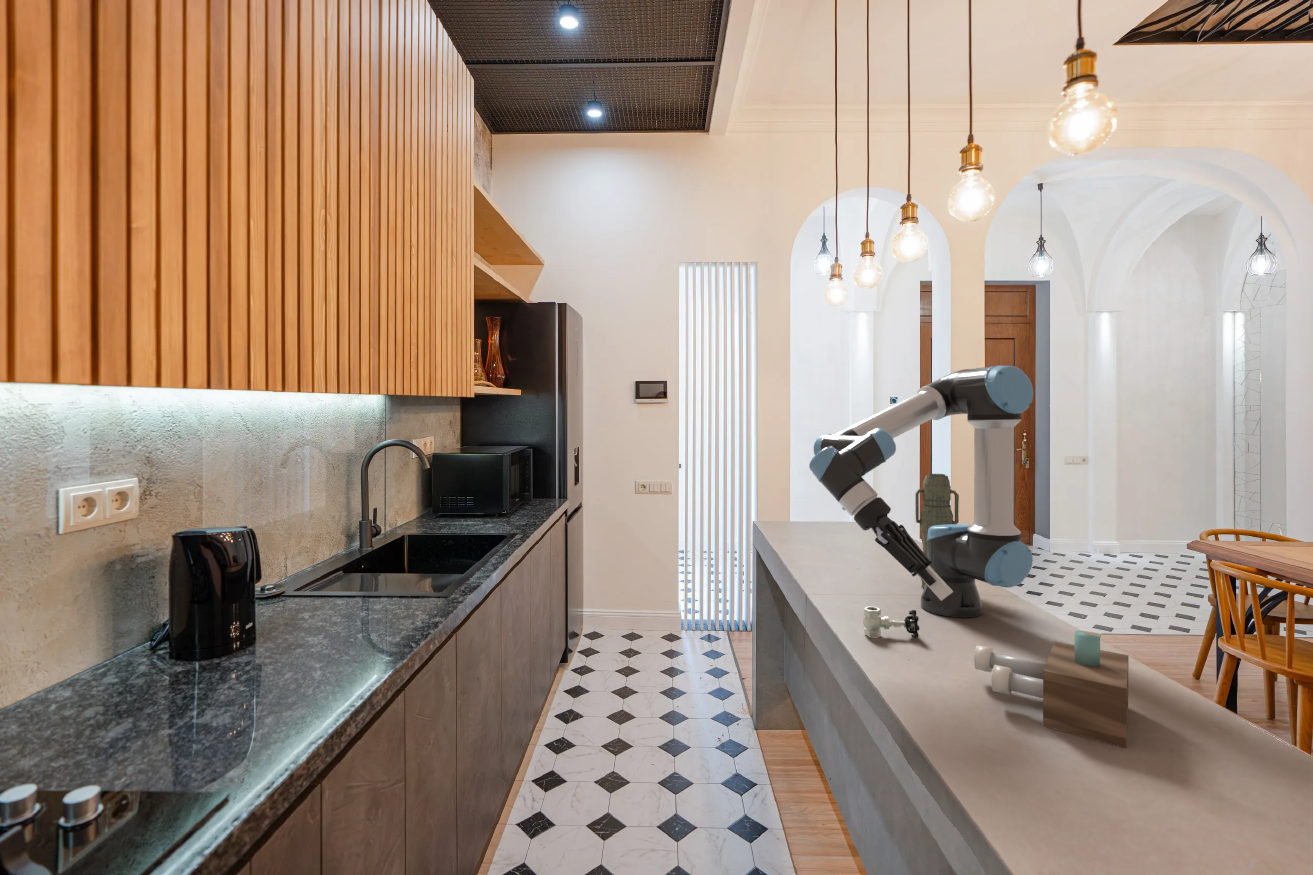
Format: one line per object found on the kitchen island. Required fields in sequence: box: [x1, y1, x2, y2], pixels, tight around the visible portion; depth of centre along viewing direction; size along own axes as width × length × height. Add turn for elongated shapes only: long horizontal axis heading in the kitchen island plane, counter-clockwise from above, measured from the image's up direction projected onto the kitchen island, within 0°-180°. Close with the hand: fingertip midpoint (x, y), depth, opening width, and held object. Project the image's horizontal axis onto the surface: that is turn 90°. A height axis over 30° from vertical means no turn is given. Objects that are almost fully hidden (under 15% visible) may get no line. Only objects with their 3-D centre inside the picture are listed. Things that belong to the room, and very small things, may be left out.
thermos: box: [914, 473, 960, 590], centre depth 180 cm, size 9×12×35 cm
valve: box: [862, 606, 920, 639], centre depth 143 cm, size 7×7×12 cm
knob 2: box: [991, 665, 1043, 699], centre depth 104 cm, size 13×5×5 cm, turn 51°
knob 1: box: [973, 644, 1046, 680], centre depth 114 cm, size 13×5×5 cm, turn 51°
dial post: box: [1074, 629, 1102, 667], centre depth 103 cm, size 4×4×6 cm
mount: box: [1042, 641, 1129, 749], centre depth 103 cm, size 16×11×10 cm, turn 141°
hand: (947, 596), depth 120 cm, fingers closed
